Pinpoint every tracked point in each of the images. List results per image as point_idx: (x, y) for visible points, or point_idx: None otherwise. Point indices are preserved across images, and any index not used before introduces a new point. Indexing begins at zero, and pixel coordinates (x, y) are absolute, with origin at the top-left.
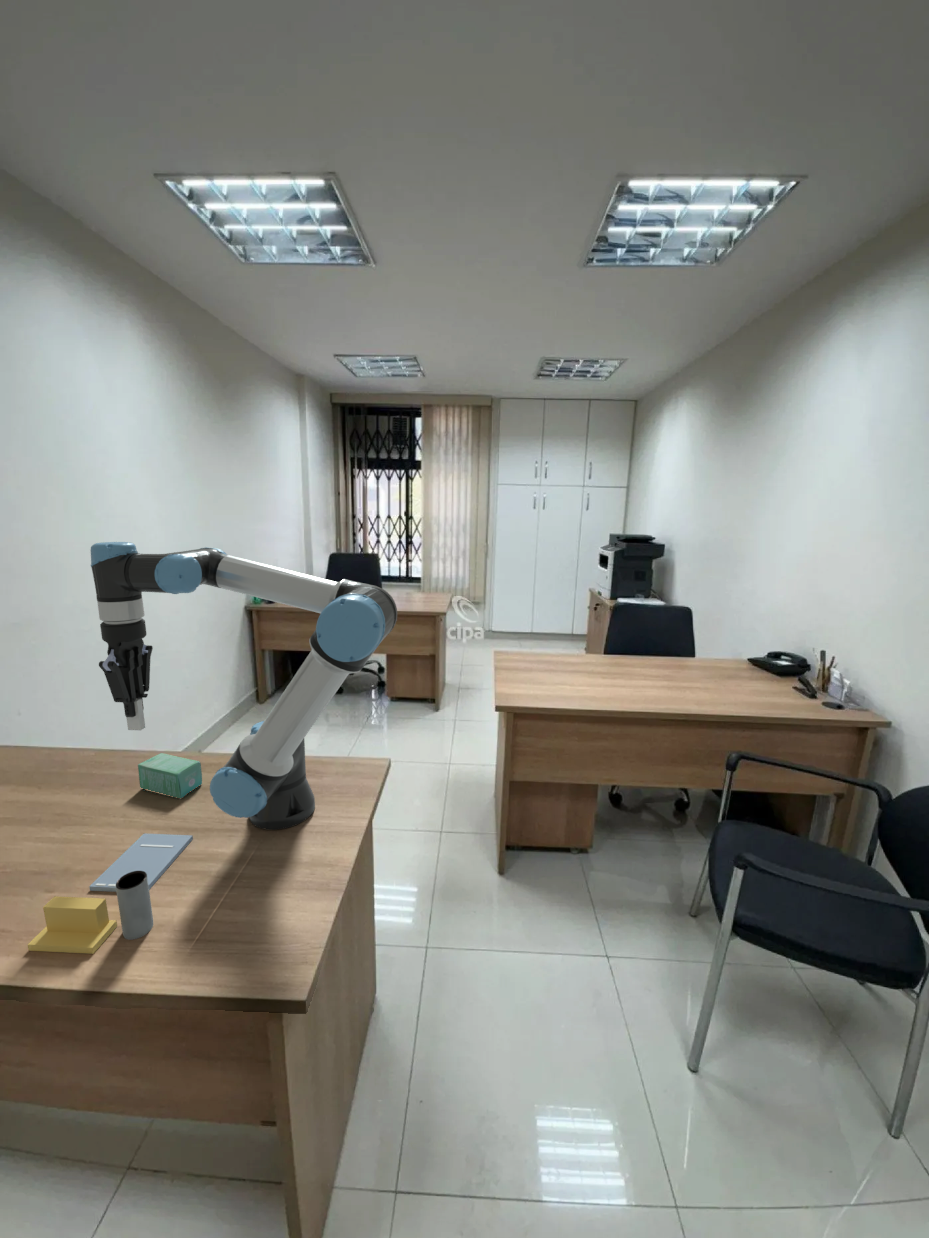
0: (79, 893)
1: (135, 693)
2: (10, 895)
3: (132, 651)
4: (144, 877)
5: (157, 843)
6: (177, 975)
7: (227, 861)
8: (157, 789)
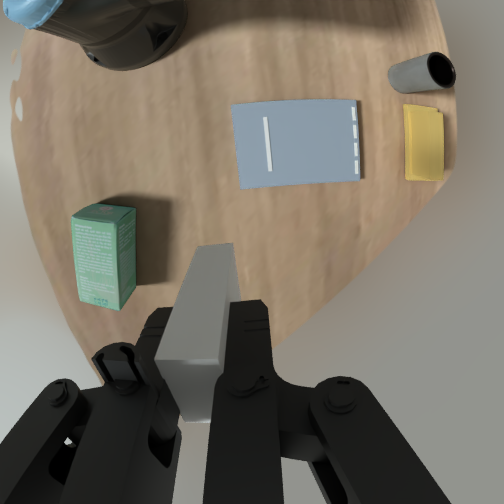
0: (360, 191)
1: (211, 428)
2: (364, 268)
3: None
4: (435, 54)
5: (260, 148)
6: (430, 21)
7: (271, 28)
8: (133, 256)
